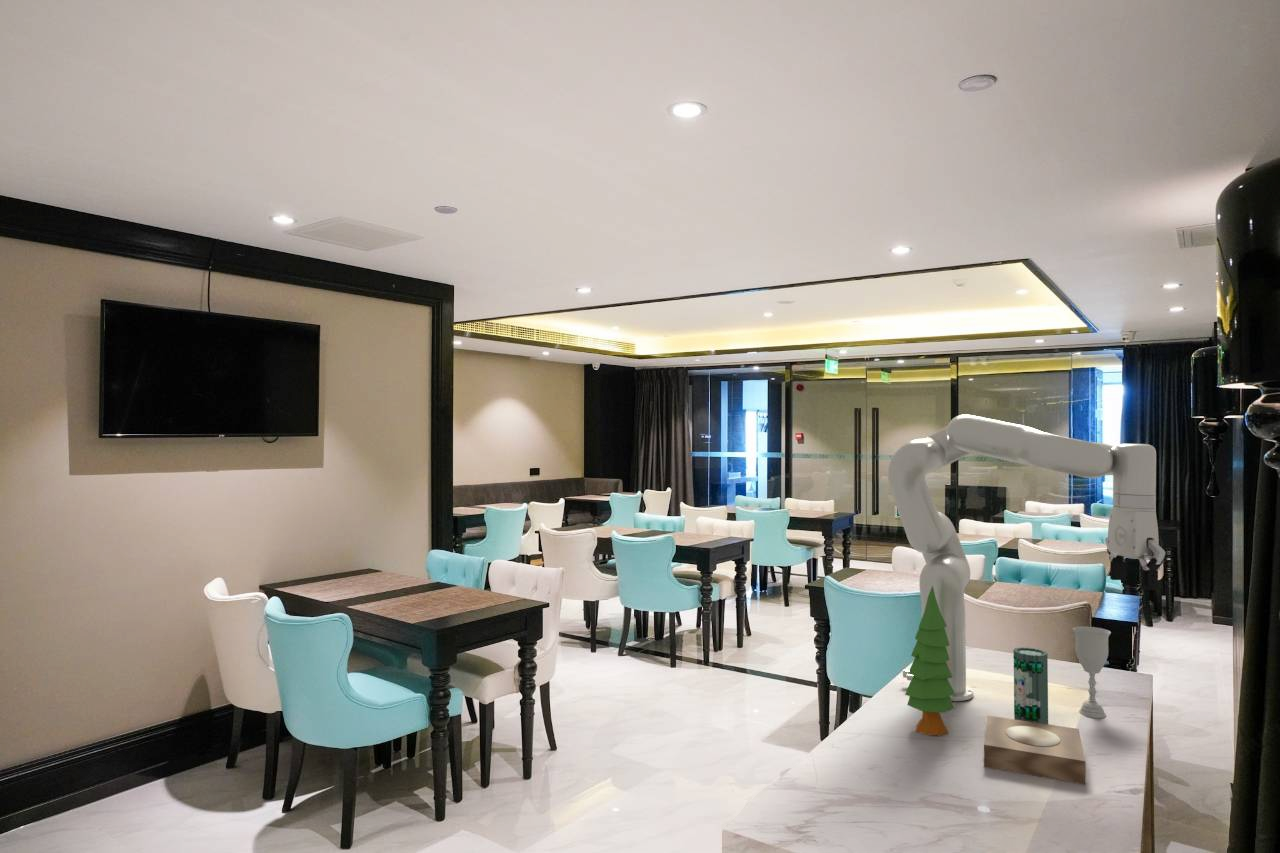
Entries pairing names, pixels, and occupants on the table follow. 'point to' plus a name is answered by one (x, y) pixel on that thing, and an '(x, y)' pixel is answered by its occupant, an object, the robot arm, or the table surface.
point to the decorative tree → (931, 671)
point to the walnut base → (1034, 749)
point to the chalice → (1091, 662)
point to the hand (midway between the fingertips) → (1133, 584)
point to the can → (1031, 685)
